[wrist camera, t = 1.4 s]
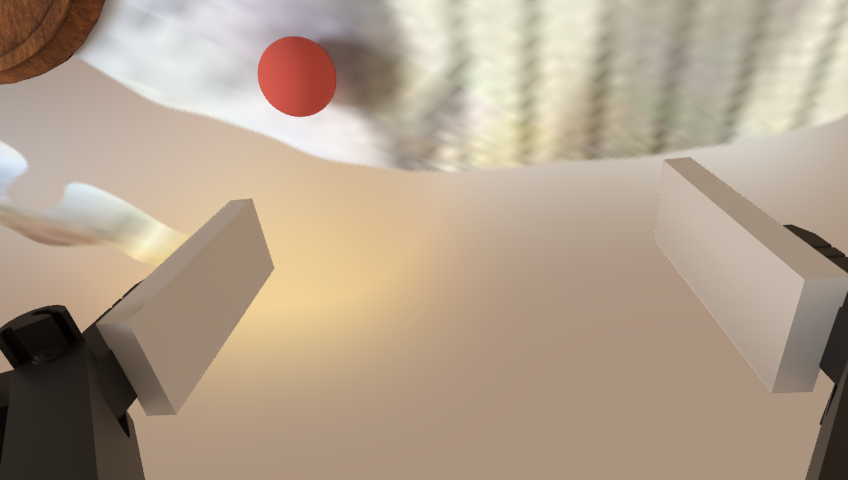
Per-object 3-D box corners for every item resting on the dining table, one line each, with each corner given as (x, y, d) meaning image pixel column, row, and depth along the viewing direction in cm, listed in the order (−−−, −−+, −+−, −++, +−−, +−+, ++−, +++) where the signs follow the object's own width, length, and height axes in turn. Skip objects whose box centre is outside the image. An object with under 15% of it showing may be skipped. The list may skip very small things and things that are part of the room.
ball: (269, 23, 35) (243, 40, 31) (344, 35, 35) (329, 54, 31) (272, 96, 38) (249, 121, 34) (340, 107, 39) (326, 133, 34)
